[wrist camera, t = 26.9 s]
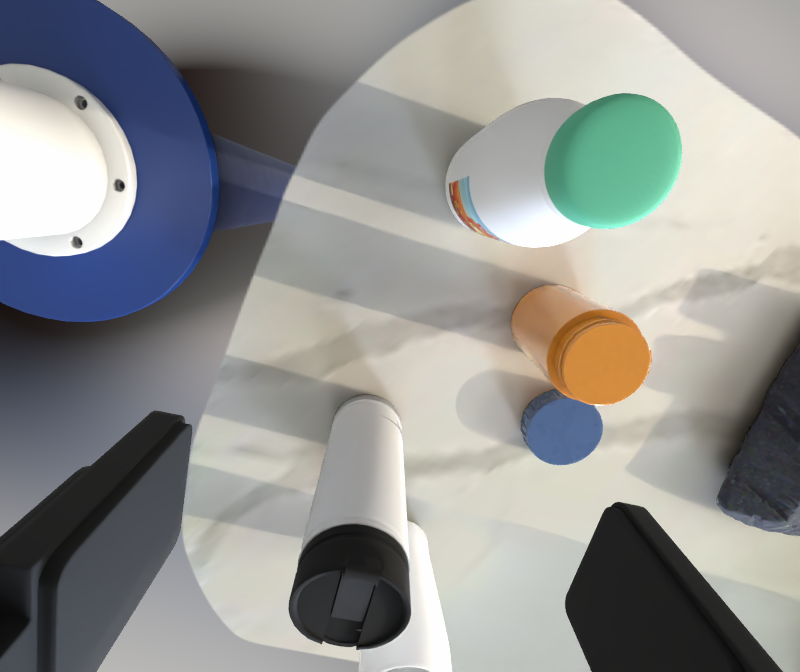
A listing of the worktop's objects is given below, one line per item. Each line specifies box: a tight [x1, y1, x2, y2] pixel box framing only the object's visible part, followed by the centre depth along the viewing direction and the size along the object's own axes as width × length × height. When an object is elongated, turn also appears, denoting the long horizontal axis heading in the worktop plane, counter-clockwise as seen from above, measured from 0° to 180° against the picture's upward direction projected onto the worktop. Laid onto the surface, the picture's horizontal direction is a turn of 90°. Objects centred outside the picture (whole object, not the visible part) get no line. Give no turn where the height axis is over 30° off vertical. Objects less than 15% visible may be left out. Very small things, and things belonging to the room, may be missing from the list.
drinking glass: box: [359, 521, 452, 672], centre depth 37 cm, size 7×7×15 cm
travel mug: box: [289, 395, 411, 650], centre depth 31 cm, size 6×7×20 cm
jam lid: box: [521, 389, 603, 465], centre depth 40 cm, size 7×7×2 cm
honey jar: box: [511, 285, 651, 406], centre depth 33 cm, size 7×7×11 cm
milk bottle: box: [445, 93, 682, 247], centre depth 25 cm, size 8×8×20 cm
